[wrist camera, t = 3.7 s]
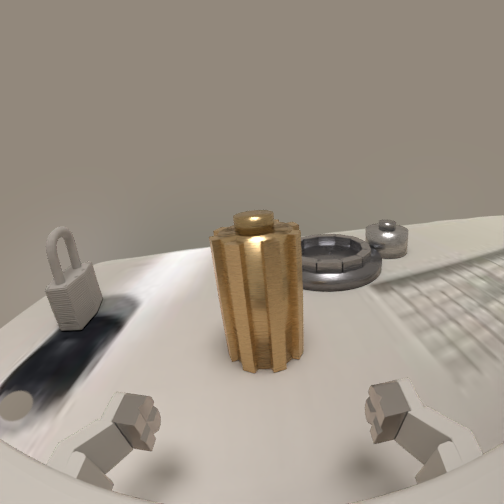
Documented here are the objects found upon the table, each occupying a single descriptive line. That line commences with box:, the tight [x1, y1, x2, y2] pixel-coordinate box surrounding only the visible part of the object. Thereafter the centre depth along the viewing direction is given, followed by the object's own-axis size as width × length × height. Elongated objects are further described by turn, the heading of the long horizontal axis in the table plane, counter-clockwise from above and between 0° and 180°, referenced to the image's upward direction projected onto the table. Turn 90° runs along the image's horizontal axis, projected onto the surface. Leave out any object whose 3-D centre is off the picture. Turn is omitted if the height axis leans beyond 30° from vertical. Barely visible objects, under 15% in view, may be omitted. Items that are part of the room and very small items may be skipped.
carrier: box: [301, 234, 382, 291], centre depth 33 cm, size 13×13×2 cm
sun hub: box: [365, 220, 408, 258], centre depth 35 cm, size 6×6×4 cm
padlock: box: [45, 227, 103, 331], centre depth 25 cm, size 7×4×10 cm, turn 7°
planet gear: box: [209, 210, 303, 373], centre depth 19 cm, size 6×6×10 cm
